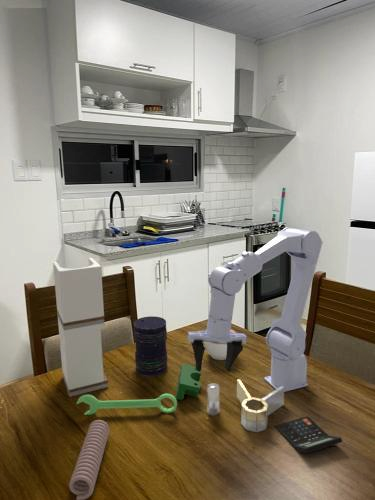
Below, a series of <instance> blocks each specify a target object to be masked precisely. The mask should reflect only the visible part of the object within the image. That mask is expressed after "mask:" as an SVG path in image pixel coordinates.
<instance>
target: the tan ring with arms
mask: <svg viewBox="0 0 375 500" xmlns="http://www.w3.org/2000/svg"><path fill="white" fill-rule="evenodd" d="M236 397H237V400H238V401H239V403H240V405H241V411H240V412H241V416H240V417H241V420H240V423H241V425H242V426H243V428H244V429H245V430H247V431H250V432H253V433H259V432H261V431H265V430H266V428H267V426H268V416H270V415H271V414H273V413H275V411H277V410H279V409H280V408H281V407H283V406H284V404H285V403H284V401H285V392H284V387H283V386H281V387H279V388H278V389H275V390H273V391H271V392H270V393H269V394H267V395H265V396H263V397H262V398H258V397H253V396H251V394H250V393H249V391H248V390H247V388H246V387H245V385H244V383H243V382H242V380H241V378H240V379H237V380H236Z"/></svg>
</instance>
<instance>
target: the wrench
mask: <svg viewBox="0 0 375 500" xmlns="http://www.w3.org/2000/svg"><path fill="white" fill-rule="evenodd" d="M166 398H167V399H170V401H172V402H173V406H172V407H170V408H168V407H165V406H164V405H162V400H163V399H166ZM80 403H85V404H87V405H89V410H87V411H85V412H84V416H91V415H93V414H96V412H97V411H98V410H100V409H104V410H105V409H128V408H129V409H131V408H133V409H134V408H135V409H136V408H137V409H138V408H158V409H159V410H160V411H161V412H163V413H165V414H170V413H173V412H174V411H176V409H177V406H178V399H176V396H174V395H173V394H171V393H163V394H161V395H160V396H159V397H157V398H154V399H153V398H151V399H124V400H101V399H97V397H95V396H94V395H92V394H87V393H86V394H82V395H81V396H79V398H78V399H77V401H76V405H78V404H80Z"/></svg>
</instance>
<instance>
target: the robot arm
mask: <svg viewBox="0 0 375 500" xmlns="http://www.w3.org/2000/svg"><path fill="white" fill-rule="evenodd" d="M322 245H323V240H322V238H321V236H320V234H319V233H318V232H317V231H315V230H306V229H300V228H294V227H291V226H287V227H284V228H283V229H282V230H279V231H278V232H277V234H276V236H275V237H274V238H273V239H271V240H269V242H267V243H266V244H264V245H263V246H262V247H261V248H259V249H257V251H255V252H253V251H243V252H242V253H241V256H239V257H237V258H236V259H233V261H228V262H227V263H226V265H225V266H218V267H216V268H214V269H213V270H212V271H211V273H210V275H209V276H208V277H207V281H208V284H209V286H210V294H211V295H210V302H209V309H208V318H207V326H206V329H205V330H199V331H187V341H188V343H190V344H191V346H192V350H193V351H192V352H193V353H194V359H195V361H194V363H195V367H196V369H197V371H198V372H201V373H202V367H203V366H202V365H203V357H204V354H205V351H206V348H205V344H204V342H219V343H227V355H226V359H225V362H224V369H225V371H226V372H231V370H232V367H233V365H234V363H235V361H236V359H237V358H238V356H239V355H240V354H241V352H242V351H243V349H244V344H247V337H248V336H247V335H246V334H245V333H241V332H240V333H239V332H236V333H234V332H230V329H232V322H233V313H234V306H235V301H236V294H238V293H239V292H240V291H241V289H242V287H243V285H244V284H245V283H246V282H247V281H248V280H250V279H251V278H252V277H253V276H255V275H257V274H258V273H260V272H261V271H262V269H263V265H264V264H265V263H267V262H269V261H271V260H273V259H274V258H277V257H278V256H280V255H282V254H283V253H287V254H288V255H289V256H290V257H291V259H292V260H293V263H294V269H293V272H292V275H291V280H290V283H289V287H288V289H287V294H286V297H285V301H284V304H283V307H282V312H281V316H280V318H278V319H276V320H274V321H273V322H272V323H271V327H270V328H269V330H268V332H267V334H266V337H265V343H266V345H267V346H268V347H269V351H270V352H271V358H270V359H271V361H270V375H268V376H264V380H265V382H266V383H268V385H269V384H270V385H271V387H272V388H274V389H275V390H276V389H278V388H279V387H281V386H283V387H284V393H285V392H289V391H292V390H297V389H301V388H304V387H308V386H309V384H308V382H307V376H308V375H307V372H308V371H307V369H308V362H307V358H306V356H305V354H304V352H305V350H306V337H307V332H306V330H305V329H304V327H303V326H302V324H301V323H302V319H303V315H304V312H305V309H306V308H305V307H306V306H307V305H306V303H307V301H308V296H309V294H310V289H311V286H312V282H313V279H314V275H315V273H316V268H317V265H318V260H319V257H320V253H321V249H322Z"/></svg>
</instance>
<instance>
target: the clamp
mask: <svg viewBox="0 0 375 500" xmlns="http://www.w3.org/2000/svg"><path fill="white" fill-rule="evenodd" d="M201 376H202V371H201V372H198V371H197V369H196V365H195V366H194V365H190V364H186V363H182V364H181V369H180V372H179V376H178V380H177V385H176V386H177V388H176V391H175V398H176V400H181V401H183V400H184V397H185V395H187V396H191V397H198V393H199V391H200V389H201V386H202V385H201V384H202V383H201V381H200V378H201Z"/></svg>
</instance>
